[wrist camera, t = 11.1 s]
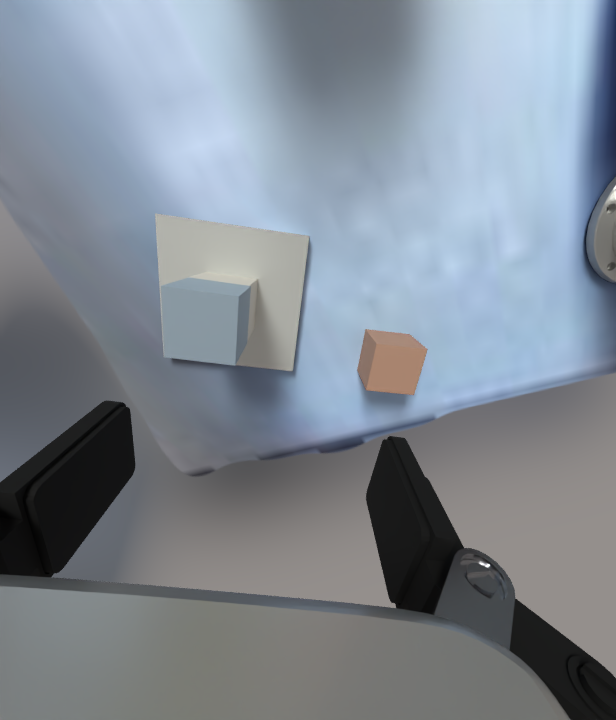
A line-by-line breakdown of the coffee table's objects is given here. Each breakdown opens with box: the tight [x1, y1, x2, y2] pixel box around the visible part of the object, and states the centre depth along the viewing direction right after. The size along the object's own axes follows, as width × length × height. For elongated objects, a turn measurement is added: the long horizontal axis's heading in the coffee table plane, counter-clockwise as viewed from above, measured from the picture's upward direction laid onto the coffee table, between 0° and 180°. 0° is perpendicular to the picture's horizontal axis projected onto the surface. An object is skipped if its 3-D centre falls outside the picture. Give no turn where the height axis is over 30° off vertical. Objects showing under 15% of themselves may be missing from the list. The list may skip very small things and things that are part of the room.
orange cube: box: [357, 329, 428, 395], centre depth 30 cm, size 5×5×5 cm
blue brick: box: [161, 277, 251, 366], centre depth 22 cm, size 5×5×5 cm
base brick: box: [189, 272, 258, 341], centre depth 26 cm, size 5×5×5 cm
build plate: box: [155, 214, 309, 371], centre depth 29 cm, size 14×14×1 cm
